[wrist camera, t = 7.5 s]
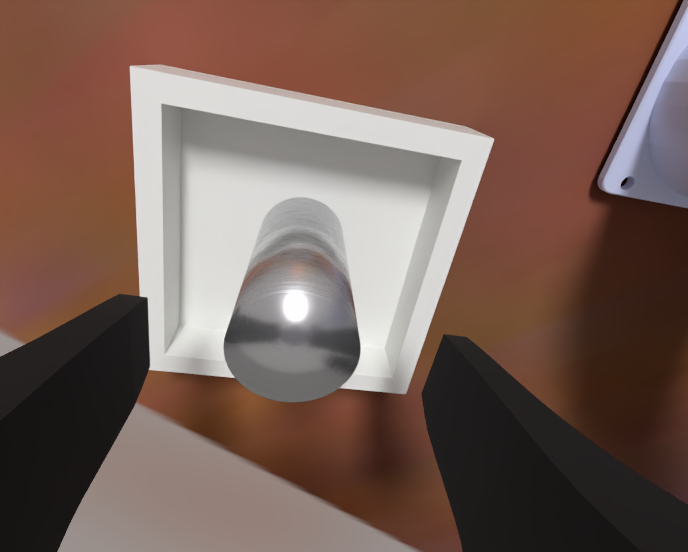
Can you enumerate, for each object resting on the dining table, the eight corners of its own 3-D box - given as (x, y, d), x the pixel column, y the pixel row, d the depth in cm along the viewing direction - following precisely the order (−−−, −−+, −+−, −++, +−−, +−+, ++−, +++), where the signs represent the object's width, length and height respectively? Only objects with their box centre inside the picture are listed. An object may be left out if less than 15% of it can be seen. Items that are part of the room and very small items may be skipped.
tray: (466, 126, 15) (494, 138, 13) (394, 354, 20) (405, 394, 17) (161, 64, 13) (129, 65, 11) (164, 329, 18) (143, 369, 16)
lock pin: (344, 197, 15) (364, 292, 9) (342, 273, 17) (357, 400, 10) (257, 196, 15) (215, 294, 9) (262, 274, 16) (230, 404, 10)
